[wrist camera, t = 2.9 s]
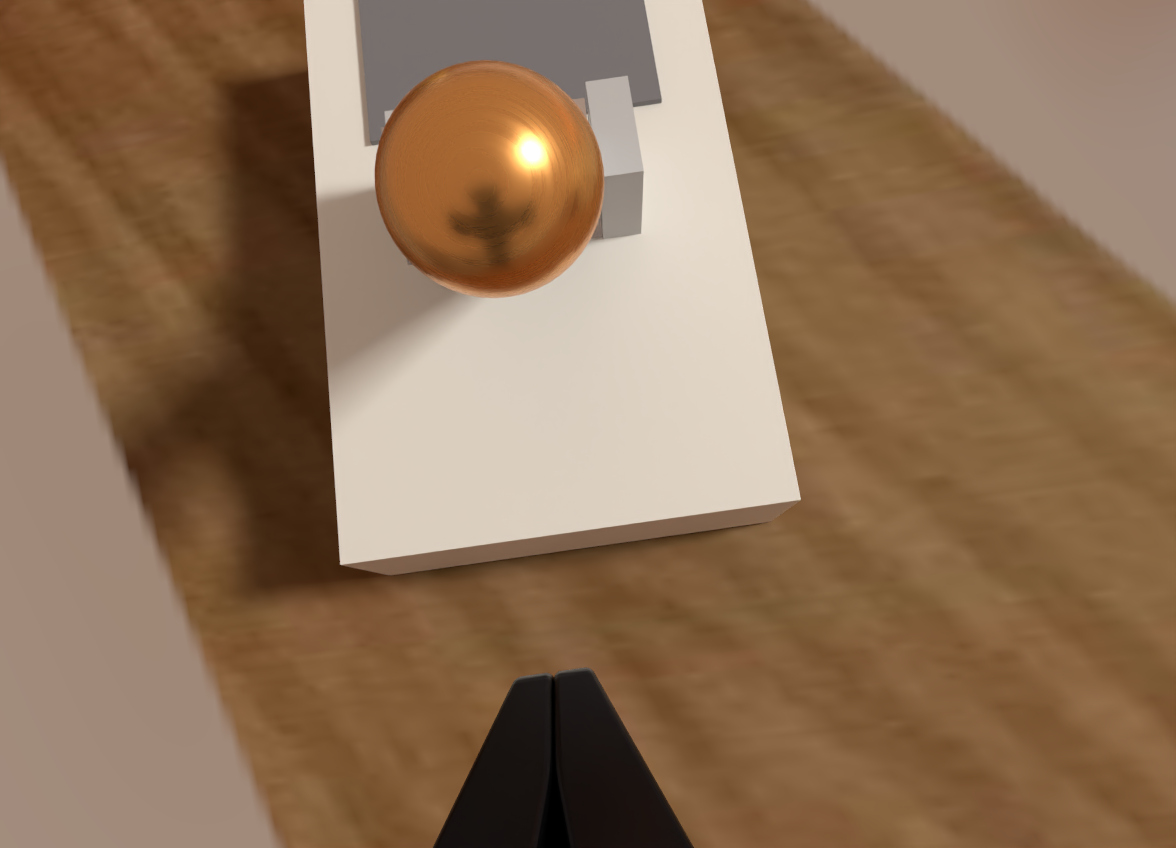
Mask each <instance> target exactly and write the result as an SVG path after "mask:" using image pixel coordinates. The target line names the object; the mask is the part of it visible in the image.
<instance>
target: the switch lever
mask: <svg viewBox="0 0 1176 848" xmlns="http://www.w3.org/2000/svg"><path fill="white" fill-rule="evenodd" d="M381 132H382V135H381V138H380V141H379V145H378V149H377V153H376V161H375V190H376V197H377V202H378V206H379V210H380V213H381V216H382V219H383V221H384V224H385V226H386V229H387V231H388V232H389V234H390V236H391V238H392V239H393V241H394V243H395V244H396V246H397V247H398V248H399V250H400V251H401V252H402V254H403V255H404V256H405V257H406V258H407V263H408V265H413V266H414V267H415V268H417V269H418V270H419V271H420V272H421V273H423V274H424V275H425V276H427V277H428V278H430V279H431V280H433V281H434V282H436V283H438V284H439V285H442V286H444V287H446V288H448V289H450V290H452V291H455V292H459V293H462V294H465V295H469V296H475V297H481V298H504V297H512V296H517V295H521V294H525V293H528V292H530V291H533V290H536V289H538V288H540V287H542V286H544V285H546V284H548V283H550V282H551V281H553V280H554V279H556V278H557V277H558V276H560V275H561V274H562V273H564V272H565V271H566V270H567V269H568V268H569V267H570V266H571V265H572V264H573V263H574V262H575V261H576V259H577V258H578V257H579V256H580V255H581V254H582V252H583V251H584V249H585V247H586V246H587V244H588V243H589V241H590V239H592V238H599V237H603V235H602V228H601V220H600V214H601V210H602V205H603V199H604V186H605V180H604V166H603V161H602V156H601V151H600V148H599V145H598V142H597V139H596V136H595V134H594V132H593V130H592V128H591V126H590V124H589V122H588V120H587V114H586V106H585V99H584V98H579V99H572V98H571V97H570V96H569V95H568V94H567V93H565V92H564V91H563V90H562V89H561V88H560V87H559V86H558V85H556V84H555V83H554V82H552V81H551V80H549V79H548V78H546V77H545V76H543V75H541V74H539V73H537V72H535V71H533V70H531V69H529V68H526V67H523V66H520V65H518V64H514V63H509V62H504V61H496V60H476V61H467V62H463V63H458V64H454V65H451V66H449V67H446V68H444V69H441V70H439V71H437V72H435V73H433V74H432V75H430V76H428V77H426V78H425V79H424V80H422V81H421V82H420V83H418V84H417V85H416V86H414V87H413V88H412V89H411V90H410V91H409V92H408V93H407V94H406V95H405V96H404V97H403V98H402V100H401V101H400V102H399V104H398V105H397V106H396V108H395V109H394V110H393V112H392V114H391V116H390V118H389V119H388V121H387V123H386V125H385V127H381Z"/></svg>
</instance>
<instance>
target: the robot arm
mask: <svg viewBox="0 0 1176 848" xmlns="http://www.w3.org/2000/svg"><path fill="white" fill-rule="evenodd" d="M433 848H694V847H693V845H692V844H691V842H690V840H689V838H688V837H687V835H686V833H685V831H684V830H683V828H682V826H681V824H680V822H679V821H678V819H677V817H676V815H675V814H674V812H673V810H672V808H671V807H670V805H669V803H668V801H667V800H666V798H665V796H664V794H663V793H662V791H661V789H660V787H659V786H658V784H657V782H656V780H655V779H654V777H653V775H652V773H651V772H650V770H649V768H648V766H647V764H646V763H645V761H644V759H643V757H642V756H641V754H640V752H639V750H638V749H637V747H636V745H635V743H634V742H633V740H632V738H631V736H630V735H629V733H628V731H627V729H626V728H625V726H624V724H623V722H622V721H621V719H620V717H619V715H618V714H617V712H616V710H615V708H614V707H613V705H612V703H611V701H610V699H609V698H608V696H607V694H606V692H605V691H604V689H603V687H602V685H601V684H600V682H599V680H598V678H597V677H596V675H595V673H594V672H593V671H592V670H591V669H590V668H579V669H572V670H564V671H559V672H557V673H556V675H555V677H553V676H552V675H551V674H549V673H543V674H536V675H529V676H522V677H518V678H517V679H516V680H515V681H514V682H513V684H512V686H511V688H510V690H509V692H508V694H507V696H506V698H505V700H504V702H503V704H502V706H501V708H500V710H499V713H498V715H497V717H496V719H495V721H494V723H493V725H492V727H491V729H490V731H489V733H488V735H487V737H486V739H485V741H484V743H483V745H482V748H481V750H480V752H479V754H478V756H477V758H476V760H475V762H474V764H473V766H472V768H471V770H470V772H469V774H468V776H467V778H466V780H465V782H464V785H463V787H462V789H461V791H460V793H459V795H458V797H457V799H456V801H455V803H454V805H453V807H452V809H451V811H450V813H449V815H448V817H447V820H446V822H445V824H444V826H443V828H442V830H441V832H440V834H439V836H438V838H437V840H436V842H435V844H434V846H433Z"/></svg>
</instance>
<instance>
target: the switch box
mask: <svg viewBox="0 0 1176 848" xmlns="http://www.w3.org/2000/svg"><path fill="white" fill-rule="evenodd" d="M304 11H305V27H306V42H307V58H308V73H309V89H310V104H311V120H312V135H313V151H314V166H315V182H316V197H317V213H318V228H319V244H320V259H321V275H322V290H323V306H324V321H325V337H326V352H327V368H328V383H329V399H330V414H331V430H332V445H333V461H334V476H335V492H336V507H337V523H338V538H339V554H340V565H343V566H347V567H352V568H357V569H361V570H366V571H371V572H375V573H380V574H385V575H389V576H390V575H397V574H404V573H411V572H418V571H425V570H432V569H439V568H446V567H453V566H461V565H468V564H475V563H482V562H489V561H496V560H503V559H510V558H517V557H524V556H531V555H538V554H545V553H553V552H560V551H567V550H574V549H581V548H588V547H595V546H602V545H609V544H616V543H623V542H630V541H638V540H645V539H652V538H659V537H666V536H673V535H680V534H687V533H694V532H701V531H708V530H715V529H722V528H730V527H737V526H744V525H751V524H758V523H765V522H771V521H772V520H773V519H775V518H776V517H778V516H779V515H780V514H782V513H783V512H785V511H786V510H787V509H789V508H790V507H792V506H793V505H794V504H796V503H797V502H799V501H800V500H801V498H800V493H799V488H798V483H797V478H796V473H795V468H794V463H793V457H792V452H791V447H790V442H789V437H788V432H787V427H786V422H785V417H784V412H783V407H782V402H781V397H780V392H779V387H778V382H777V377H776V372H775V367H774V362H773V357H772V352H771V347H770V342H769V337H768V332H767V327H766V322H765V316H764V311H763V306H762V301H761V296H760V291H759V286H758V281H757V276H756V271H755V266H754V261H753V256H752V251H751V246H750V241H749V236H748V231H747V226H746V221H745V216H744V211H743V206H742V201H741V196H740V191H739V186H738V181H737V175H736V170H735V165H734V160H733V155H732V150H731V145H730V140H729V135H728V130H727V125H726V120H725V115H724V110H723V105H722V100H721V95H720V90H719V85H718V80H717V75H716V70H715V65H714V60H713V55H712V50H711V45H710V40H709V35H708V29H707V24H706V19H705V14H704V9H703V4H702V0H304ZM476 60H496V61H504V62H509V63H514V64H518V65H520V66H523V67H526V68H529V69H531V70H533V71H535V72H537V73H539V74H541V75H543V76H545V77H546V78H548V79H549V80H551V81H552V82H554V83H555V84H556V85H558V86H559V87H560V88H561V89H562V90H563V91H564V92H565V93H567V94H568V95H569V96H570V97H571V98H572V99H579V98H584V99H585V106H586V114H587V120H588V122H589V124H590V126H591V128H592V130H593V132H594V134H595V136H596V139H597V142H598V145H599V148H600V151H601V156H602V161H603V166H604V180H605V186H604V199H603V205H602V210H601V214H600V220H601V228H602V235H603V237H599V238H592V239H590V241H589V243H588V244H587V246H586V247H585V249H584V251H583V252H582V254H581V255H580V256H579V257H578V258H577V259H576V261H575V262H574V263H573V264H572V265H571V266H570V267H569V268H568V269H567V270H566V271H565V272H564V273H562V274H561V275H560V276H558V277H557V278H556V279H554V280H553V281H551V282H550V283H548V284H546V285H544V286H542V287H540V288H538V289H536V290H533V291H530V292H528V293H525V294H521V295H517V296H512V297H504V298H481V297H475V296H469V295H465V294H462V293H459V292H455V291H452V290H450V289H448V288H446V287H444V286H442V285H439V284H438V283H436V282H434V281H433V280H431V279H430V278H428V277H427V276H425V275H424V274H423V273H421V272H420V271H419V270H418V269H417V268H415V267H414V266H413V265H408V263H407V258H406V257H405V256H404V255H403V254H402V252H401V251H400V250H399V248H398V247H397V246H396V244H395V243H394V241H393V239H392V238H391V236H390V234H389V232H388V231H387V229H386V226H385V224H384V221H383V219H382V216H381V213H380V210H379V206H378V202H377V197H376V190H375V161H376V153H377V149H378V145H379V141H380V138H381V135H382V132H381V127H385V125H386V123H387V121H388V119H389V118H390V116H391V114H392V112H393V110H394V109H395V108H396V106H397V105H398V104H399V102H400V101H401V100H402V98H403V97H404V96H405V95H406V94H407V93H408V92H409V91H410V90H411V89H412V88H413V87H414V86H416V85H417V84H418V83H420V82H421V81H422V80H424V79H425V78H426V77H428V76H430V75H432V74H433V73H435V72H437V71H439V70H441V69H444V68H446V67H449V66H451V65H454V64H458V63H463V62H467V61H476Z"/></svg>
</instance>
